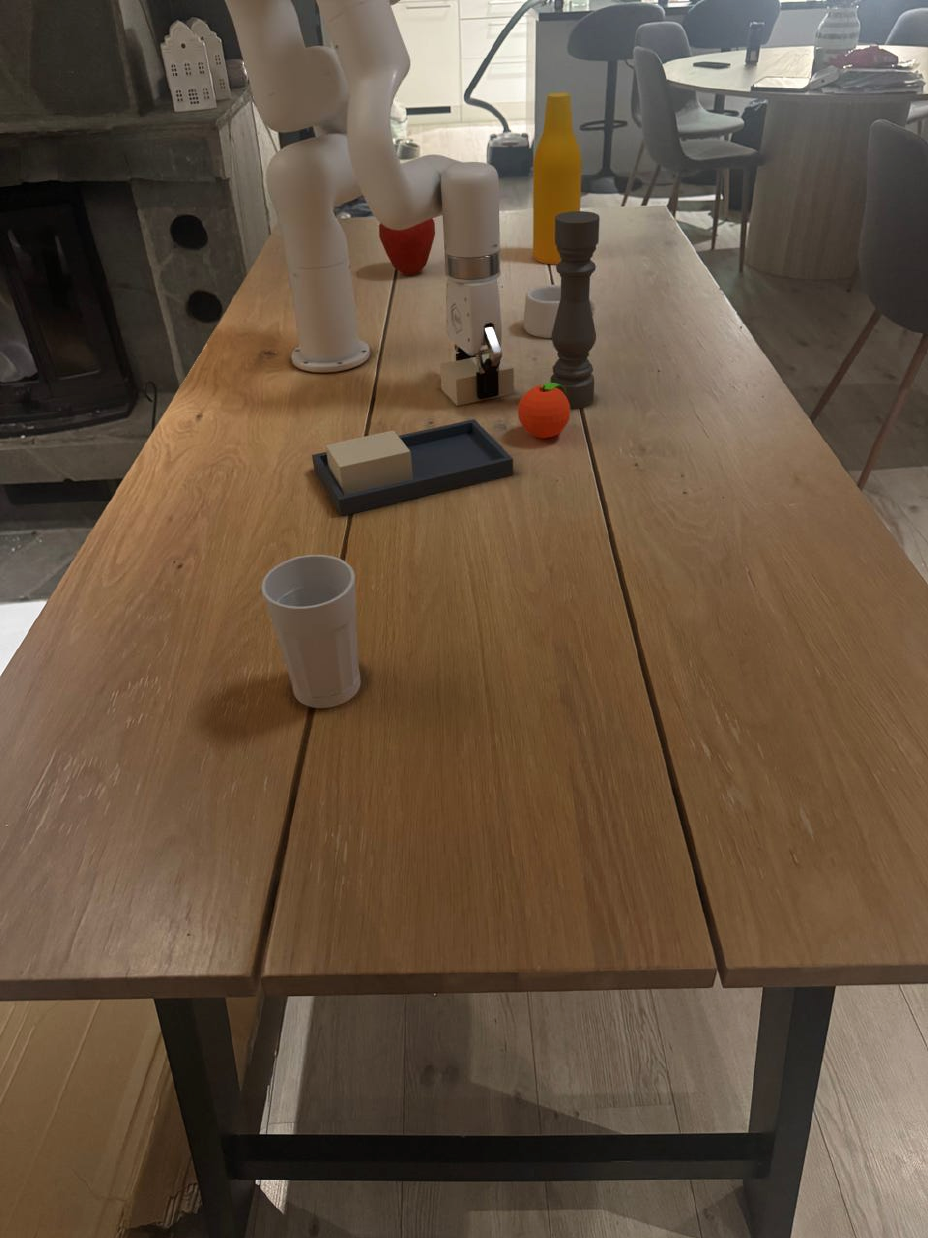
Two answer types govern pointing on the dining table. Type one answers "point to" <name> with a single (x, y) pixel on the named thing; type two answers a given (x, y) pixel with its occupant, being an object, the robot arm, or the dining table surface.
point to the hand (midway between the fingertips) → (477, 386)
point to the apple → (408, 246)
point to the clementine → (544, 410)
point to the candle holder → (575, 306)
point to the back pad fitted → (369, 462)
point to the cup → (316, 627)
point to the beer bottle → (554, 176)
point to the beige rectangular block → (472, 380)
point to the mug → (543, 310)
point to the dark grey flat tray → (429, 467)
